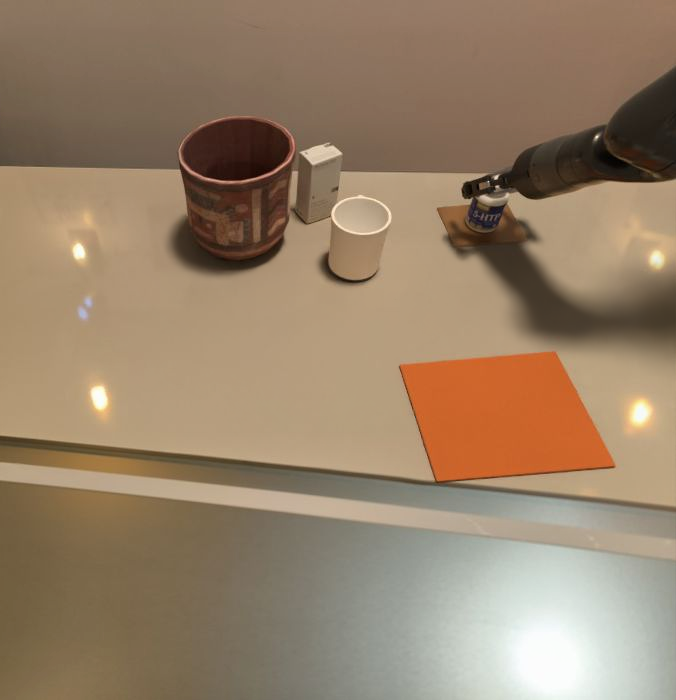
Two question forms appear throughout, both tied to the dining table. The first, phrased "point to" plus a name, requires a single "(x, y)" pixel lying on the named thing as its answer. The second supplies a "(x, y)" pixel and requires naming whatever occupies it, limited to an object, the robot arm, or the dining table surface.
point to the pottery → (237, 184)
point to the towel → (502, 417)
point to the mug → (357, 237)
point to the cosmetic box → (318, 182)
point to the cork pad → (467, 237)
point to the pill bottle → (486, 211)
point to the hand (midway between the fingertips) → (488, 187)
